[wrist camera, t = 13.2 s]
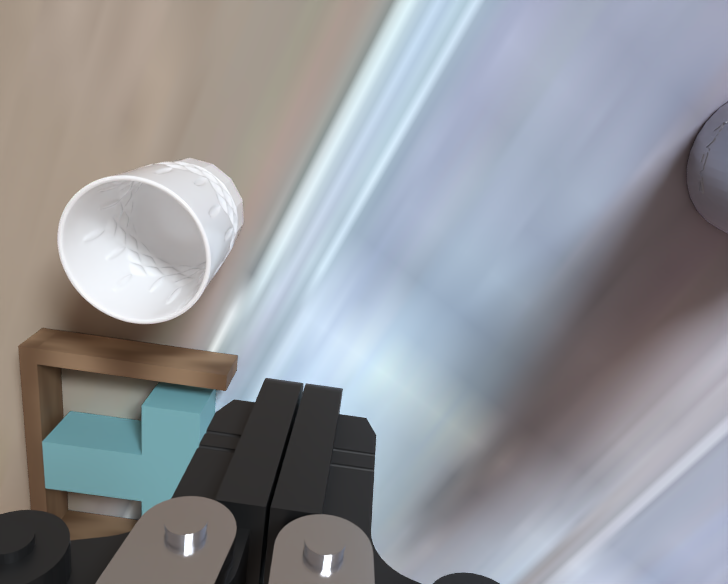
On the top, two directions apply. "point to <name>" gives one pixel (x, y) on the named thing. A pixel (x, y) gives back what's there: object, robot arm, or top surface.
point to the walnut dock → (107, 357)
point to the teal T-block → (130, 447)
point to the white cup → (150, 238)
